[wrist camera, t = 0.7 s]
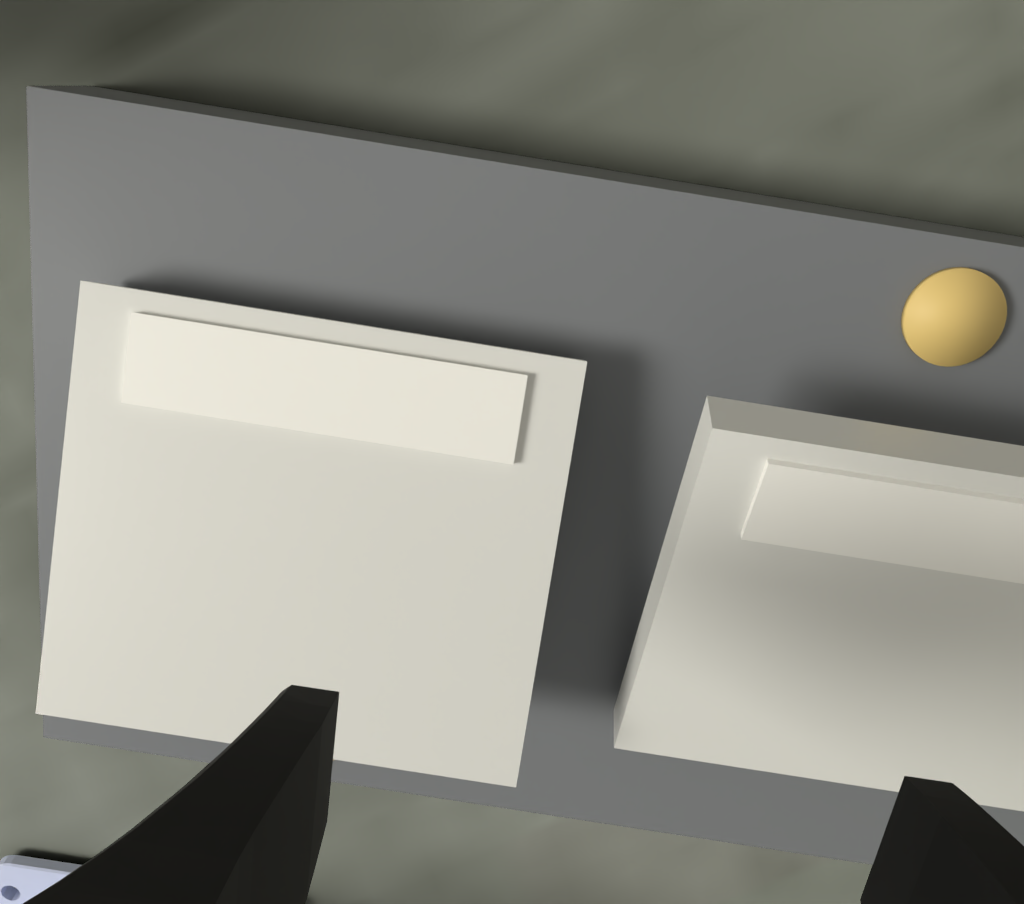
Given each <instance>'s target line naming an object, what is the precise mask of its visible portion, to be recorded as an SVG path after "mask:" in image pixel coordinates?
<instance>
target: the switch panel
mask: <svg viewBox="0 0 1024 904" xmlns="http://www.w3.org/2000/svg"><path fill="white" fill-rule="evenodd" d="M26 95H27V133H28V170H29V208H30V246H31V284H32V321H33V359H34V397H35V435H36V472H37V510H38V548H39V586H40V623H41V657H42V648H43V638H44V628H45V619H46V609H47V599H48V590H49V580H50V570H51V561H52V551H53V541H54V532H55V522H56V512H57V503H58V493H59V483H60V474H61V464H62V454H63V445H64V435H65V425H66V416H67V406H68V396H69V387H70V377H71V367H72V358H73V348H74V338H75V329H76V319H77V309H78V300H79V290H80V280H81V281H88V282H96V283H104V284H111V285H117V286H123V287H130V288H136V289H142V290H148V291H155V292H161V293H167V294H173V295H180V296H186V297H192V298H198V299H205V300H211V301H217V302H224V303H230V304H236V305H242V306H249V307H255V308H261V309H267V310H274V311H280V312H286V313H292V314H299V315H305V316H311V317H317V318H324V319H330V320H336V321H343V322H349V323H355V324H361V325H368V326H374V327H380V328H386V329H393V330H399V331H405V332H411V333H418V334H424V335H430V336H437V337H443V338H449V339H455V340H462V341H468V342H474V343H480V344H487V345H493V346H499V347H505V348H512V349H518V350H524V351H530V352H537V353H543V354H549V355H556V356H562V357H568V358H574V359H581V360H585V361H587V367H586V373H585V379H584V385H583V391H582V396H581V402H580V408H579V414H578V420H577V426H576V432H575V438H574V444H573V450H572V456H571V462H570V468H569V474H568V480H567V486H566V492H565V498H564V504H563V510H562V516H561V522H560V528H559V534H558V540H557V546H556V552H555V558H554V564H553V570H552V576H551V582H550V588H549V594H548V600H547V606H546V612H545V618H544V624H543V630H542V635H541V641H540V647H539V653H538V659H537V665H536V671H535V677H534V683H533V689H532V695H531V701H530V707H529V713H528V719H527V725H526V731H525V737H524V743H523V749H522V755H521V761H520V767H519V773H518V779H517V785H516V787H509V786H503V785H496V784H490V783H483V782H477V781H470V780H464V779H457V778H451V777H444V776H438V775H431V774H425V773H418V772H412V771H405V770H399V769H392V768H386V767H379V766H373V765H366V764H360V763H353V762H347V761H341V760H334V759H333V764H332V774H331V782H338V783H344V784H351V785H357V786H364V787H370V788H377V789H383V790H390V791H396V792H403V793H409V794H416V795H422V796H429V797H435V798H442V799H448V800H455V801H461V802H468V803H474V804H481V805H487V806H494V807H500V808H507V809H513V810H520V811H526V812H533V813H539V814H546V815H552V816H559V817H565V818H572V819H578V820H585V821H591V822H598V823H604V824H611V825H617V826H624V827H630V828H637V829H643V830H650V831H656V832H663V833H670V834H676V835H683V836H689V837H696V838H702V839H709V840H715V841H722V842H728V843H735V844H741V845H748V846H754V847H761V848H767V849H774V850H780V851H787V852H793V853H800V854H806V855H813V856H819V857H826V858H832V859H839V860H845V861H852V862H858V863H865V864H871V865H873V863H874V860H875V857H876V854H877V852H878V849H879V846H880V843H881V840H882V838H883V835H884V832H885V829H886V826H887V824H888V821H889V818H890V815H891V812H892V810H893V807H894V804H895V801H896V798H897V796H898V793H899V792H894V791H888V790H882V789H875V788H869V787H862V786H856V785H849V784H843V783H836V782H830V781H823V780H817V779H810V778H804V777H798V776H791V775H785V774H778V773H772V772H765V771H759V770H752V769H746V768H739V767H733V766H726V765H720V764H714V763H707V762H701V761H694V760H688V759H681V758H675V757H668V756H662V755H655V754H649V753H642V752H636V751H630V750H623V749H617V748H614V707H615V704H616V700H617V697H618V694H619V690H620V687H621V684H622V680H623V677H624V673H625V670H626V667H627V663H628V660H629V657H630V653H631V650H632V646H633V643H634V640H635V636H636V633H637V630H638V626H639V623H640V620H641V616H642V613H643V609H644V606H645V603H646V599H647V596H648V593H649V589H650V586H651V582H652V579H653V576H654V572H655V569H656V566H657V562H658V559H659V556H660V552H661V549H662V545H663V542H664V539H665V535H666V532H667V529H668V525H669V522H670V518H671V515H672V512H673V508H674V505H675V502H676V498H677V495H678V492H679V488H680V485H681V481H682V478H683V475H684V471H685V468H686V465H687V461H688V458H689V454H690V451H691V448H692V444H693V441H694V438H695V434H696V431H697V428H698V424H699V421H700V417H701V414H702V411H703V407H704V404H705V401H706V397H707V396H713V397H719V398H725V399H732V400H738V401H744V402H750V403H757V404H763V405H769V406H776V407H782V408H788V409H794V410H801V411H807V412H813V413H819V414H826V415H832V416H838V417H845V418H851V419H857V420H863V421H870V422H876V423H882V424H888V425H895V426H901V427H907V428H914V429H920V430H926V431H932V432H939V433H945V434H951V435H957V436H964V437H970V438H976V439H982V440H989V441H995V442H1001V443H1008V444H1014V445H1020V446H1024V237H1020V236H1013V235H1007V234H1001V233H995V232H989V231H983V230H976V229H970V228H964V227H958V226H952V225H946V224H939V223H933V222H927V221H921V220H915V219H909V218H902V217H896V216H890V215H884V214H878V213H871V212H865V211H859V210H853V209H847V208H841V207H834V206H828V205H822V204H816V203H810V202H804V201H797V200H791V199H785V198H779V197H773V196H767V195H760V194H754V193H748V192H742V191H736V190H730V189H723V188H717V187H711V186H705V185H699V184H693V183H686V182H680V181H674V180H668V179H662V178H656V177H649V176H643V175H637V174H631V173H625V172H619V171H612V170H606V169H600V168H594V167H588V166H582V165H575V164H569V163H563V162H557V161H551V160H545V159H538V158H532V157H526V156H520V155H514V154H508V153H501V152H495V151H489V150H483V149H477V148H471V147H464V146H458V145H452V144H446V143H440V142H434V141H427V140H421V139H415V138H409V137H403V136H397V135H390V134H384V133H378V132H372V131H366V130H359V129H353V128H347V127H341V126H335V125H329V124H322V123H316V122H310V121H304V120H298V119H292V118H285V117H279V116H273V115H267V114H261V113H255V112H248V111H242V110H236V109H230V108H224V107H218V106H211V105H205V104H199V103H193V102H187V101H181V100H174V99H168V98H162V97H156V96H150V95H144V94H137V93H131V92H125V91H119V90H113V89H107V88H100V87H94V86H26ZM43 737H45V738H52V739H58V740H65V741H71V742H78V743H84V744H91V745H97V746H104V747H110V748H117V749H123V750H130V751H136V752H143V753H149V754H156V755H162V756H169V757H175V758H182V759H188V760H195V761H201V762H208V763H210V762H211V761H212V760H214V759H215V758H216V757H217V756H218V755H219V754H220V753H221V752H222V751H223V750H224V749H226V748H227V747H228V746H229V745H230V743H224V742H217V741H211V740H204V739H198V738H191V737H185V736H178V735H172V734H165V733H159V732H152V731H146V730H139V729H133V728H126V727H120V726H113V725H107V724H100V723H94V722H87V721H81V720H74V719H68V718H61V717H55V716H48V715H43ZM979 806H980V807H982V808H983V809H984V810H985V811H986V812H987V813H988V814H989V815H991V816H992V817H993V818H994V819H995V820H996V821H997V822H998V823H999V824H1000V825H1002V826H1003V827H1004V828H1005V829H1006V830H1007V831H1008V832H1009V833H1010V834H1011V835H1012V836H1013V837H1015V838H1016V839H1017V840H1018V841H1019V842H1020V843H1021V844H1022V845H1023V846H1024V811H1017V810H1011V809H1004V808H998V807H991V806H985V805H979Z"/></svg>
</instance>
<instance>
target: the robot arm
mask: <svg viewBox="0 0 1024 904" xmlns="http://www.w3.org/2000/svg"><path fill="white" fill-rule="evenodd" d="M338 702H339V692H337V691H331V690H324V689H317V688H311V687H304V686H297V685H290V686H289V687H287V688H286V689H284V690H283V691H282V692H281V693H280V694H279V695H278V696H277V697H276V698H275V699H274V700H273V701H272V702H271V703H270V705H269V706H268V707H267V708H266V709H265V710H264V711H263V712H262V713H261V714H260V715H259V716H258V717H257V718H256V719H255V720H254V721H253V722H252V723H251V724H250V725H249V726H248V727H247V728H246V729H245V730H244V731H243V732H242V733H241V734H240V735H239V736H238V737H237V738H236V739H235V740H234V741H233V742H232V743H231V744H230V745H229V746H228V747H227V748H226V749H224V750H223V751H222V752H221V753H220V754H219V755H218V756H217V757H216V758H215V759H214V760H212V761H211V762H210V763H209V764H208V765H207V766H206V767H205V768H204V769H203V770H201V771H200V772H199V773H198V774H197V775H196V776H195V777H194V778H193V779H192V780H190V781H189V782H188V783H187V784H186V785H185V786H184V787H182V788H181V789H180V790H179V791H178V792H177V793H175V794H174V795H173V796H172V797H170V798H169V799H168V800H167V801H166V802H164V803H163V804H162V805H161V806H159V807H158V808H157V809H156V810H154V811H153V812H152V813H151V814H150V815H148V816H147V817H146V818H145V819H143V820H142V821H141V822H140V823H138V824H137V825H136V826H135V827H134V828H132V829H131V830H130V831H128V832H127V833H126V834H124V835H123V836H122V837H120V838H119V839H118V840H116V841H115V842H114V843H112V844H111V845H110V846H108V847H107V848H106V849H104V850H103V851H101V852H100V853H99V854H97V855H96V856H94V857H93V858H92V859H90V860H89V861H87V862H86V863H84V864H83V865H79V864H73V863H66V862H60V861H53V860H47V859H40V858H33V857H27V856H20V855H8V856H5V857H3V858H2V859H1V860H0V904H305V901H306V899H307V895H308V892H309V888H310V884H311V880H312V877H313V873H314V869H315V866H316V862H317V858H318V854H319V850H320V846H321V842H322V839H323V835H324V831H325V827H326V823H327V816H328V806H329V795H330V785H331V774H332V764H333V754H334V743H335V733H336V722H337V712H338ZM14 887H15V888H14ZM16 888H17V889H16ZM860 900H861V904H1024V846H1023V845H1022V844H1021V843H1020V842H1019V841H1018V840H1017V839H1016V838H1015V837H1013V836H1012V835H1011V834H1010V833H1009V832H1008V831H1007V830H1006V829H1005V828H1004V827H1003V826H1002V825H1000V824H999V823H998V822H997V821H996V820H995V819H994V818H993V817H992V816H991V815H989V814H988V813H987V812H986V811H985V810H984V809H983V808H982V807H980V806H979V805H978V804H977V803H976V802H975V801H974V800H972V799H971V798H970V797H969V796H968V795H967V794H965V793H964V792H963V791H962V790H961V789H959V788H958V787H957V786H956V785H954V784H953V783H950V782H943V781H936V780H930V779H923V778H916V777H909V776H904V779H903V782H902V784H901V787H900V790H899V793H898V796H897V798H896V801H895V804H894V807H893V810H892V812H891V815H890V818H889V821H888V824H887V826H886V829H885V832H884V835H883V838H882V840H881V843H880V846H879V849H878V852H877V854H876V857H875V860H874V863H873V866H872V868H871V871H870V874H869V877H868V880H867V882H866V885H865V888H864V891H863V894H862V896H861V899H860Z"/></svg>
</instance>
